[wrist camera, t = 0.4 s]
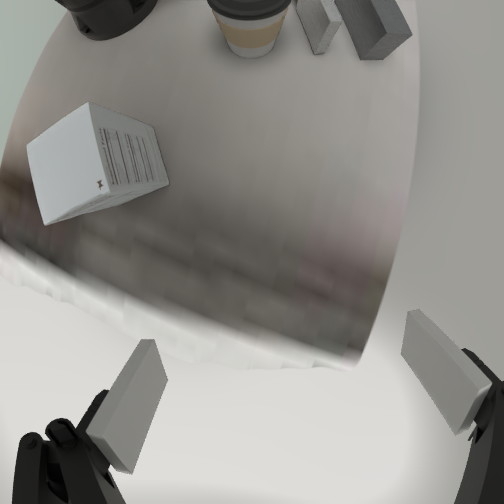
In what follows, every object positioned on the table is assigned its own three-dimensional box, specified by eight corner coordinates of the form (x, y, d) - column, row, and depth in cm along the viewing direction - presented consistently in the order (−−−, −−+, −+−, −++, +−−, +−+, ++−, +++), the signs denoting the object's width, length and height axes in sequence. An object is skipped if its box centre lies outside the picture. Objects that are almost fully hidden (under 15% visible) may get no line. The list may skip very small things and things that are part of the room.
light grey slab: (287, -10, 28) (293, -47, 19) (296, -11, 28) (304, -48, 18) (314, 54, 32) (330, 21, 22) (324, 53, 31) (342, 21, 22)
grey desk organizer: (271, -14, 28) (274, -51, 19) (346, -17, 27) (362, -49, 18) (303, 65, 32) (317, 33, 23) (382, 59, 31) (412, 34, 22)
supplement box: (154, 124, 35) (91, 96, 19) (171, 184, 37) (114, 191, 21) (99, 151, 36) (23, 144, 19) (115, 207, 38) (42, 228, 22)
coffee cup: (284, 19, 30) (296, -41, 16) (280, 67, 33) (293, 12, 18) (223, 15, 30) (210, -45, 16) (216, 63, 32) (195, 8, 18)
